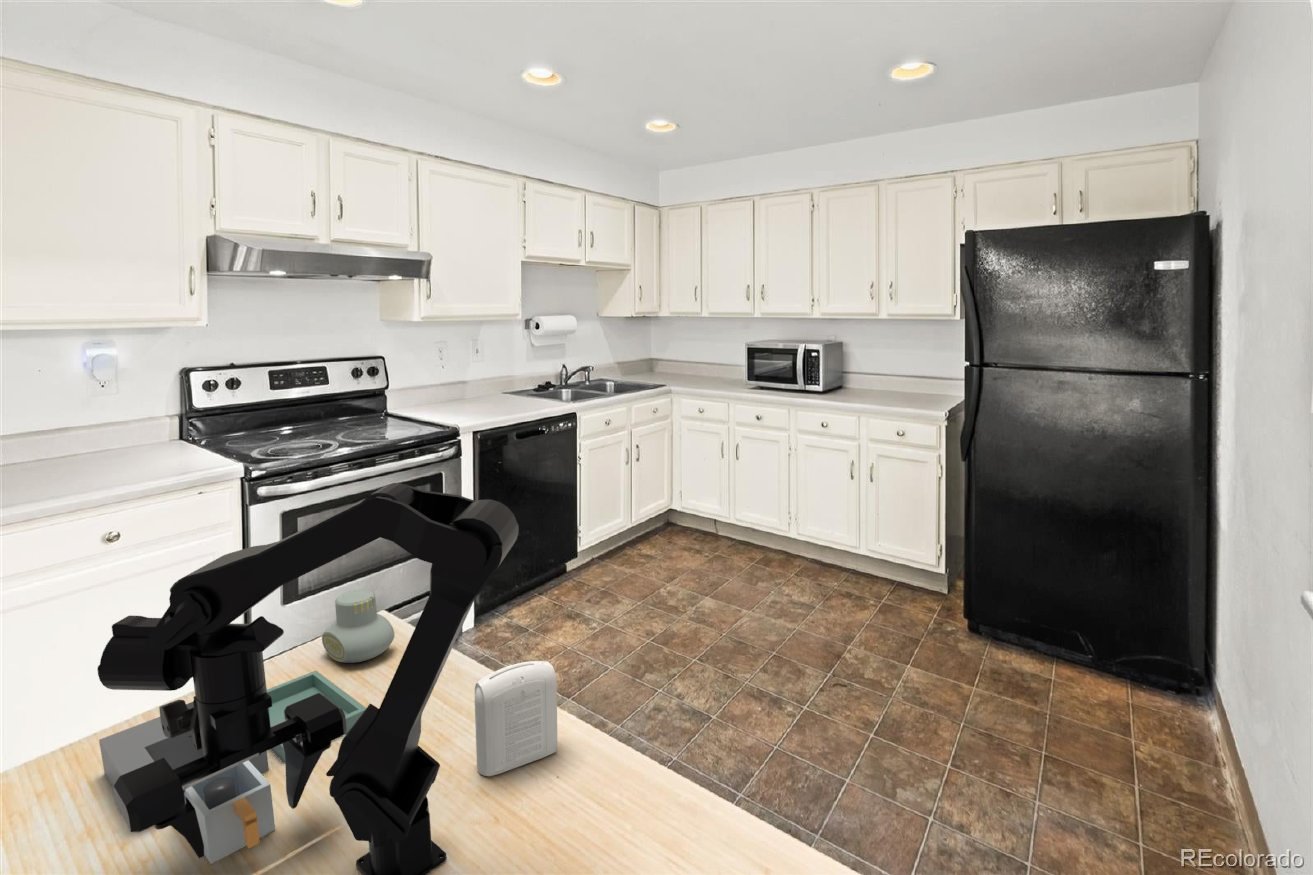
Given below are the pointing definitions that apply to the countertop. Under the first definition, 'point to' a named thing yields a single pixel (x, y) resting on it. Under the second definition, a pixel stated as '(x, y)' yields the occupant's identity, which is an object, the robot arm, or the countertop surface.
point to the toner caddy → (234, 813)
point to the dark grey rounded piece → (219, 792)
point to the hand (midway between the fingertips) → (248, 829)
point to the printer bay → (152, 750)
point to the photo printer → (515, 716)
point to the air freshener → (357, 628)
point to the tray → (306, 688)
